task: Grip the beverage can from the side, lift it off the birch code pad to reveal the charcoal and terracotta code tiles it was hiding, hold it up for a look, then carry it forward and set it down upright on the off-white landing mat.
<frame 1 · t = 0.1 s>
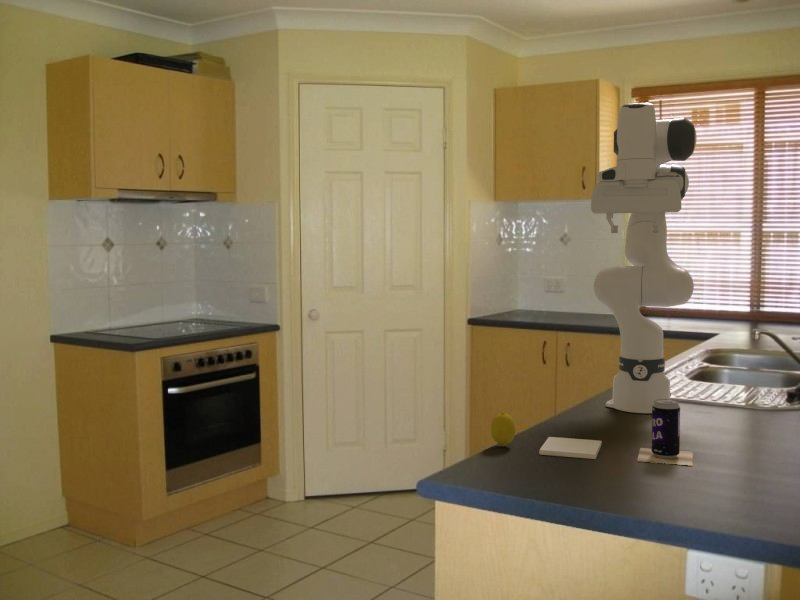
hand: (635, 233, 189), 48 cm above the worktop, tool pointing down, fingers open, 8 cm apart
code pad: (665, 457, 174), on the worktop
lemon: (503, 447, 184), on the worktop
landing mat: (571, 449, 181), on the worktop
beverage can: (665, 457, 174), resting on code pad
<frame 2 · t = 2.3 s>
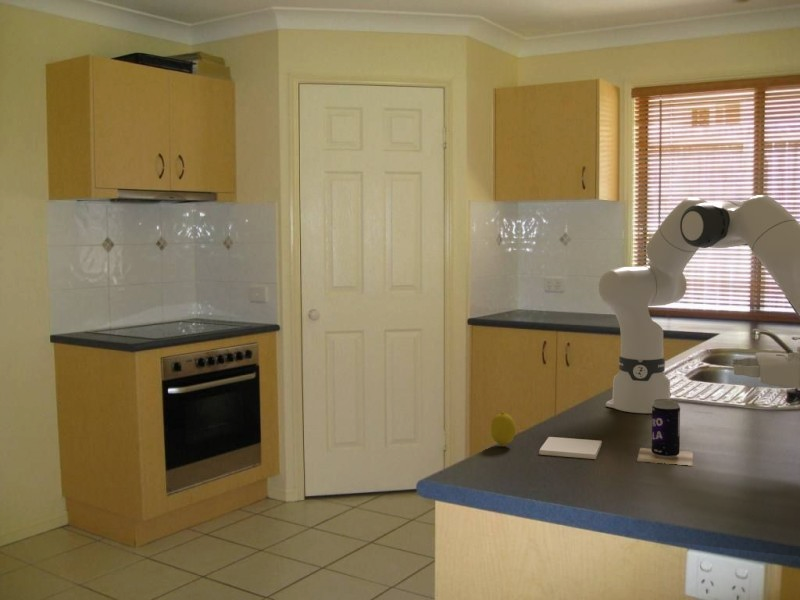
hand: (732, 366, 168), 20 cm above the worktop, tool horizontal, fingers open, 8 cm apart
nothing on the worktop moved.
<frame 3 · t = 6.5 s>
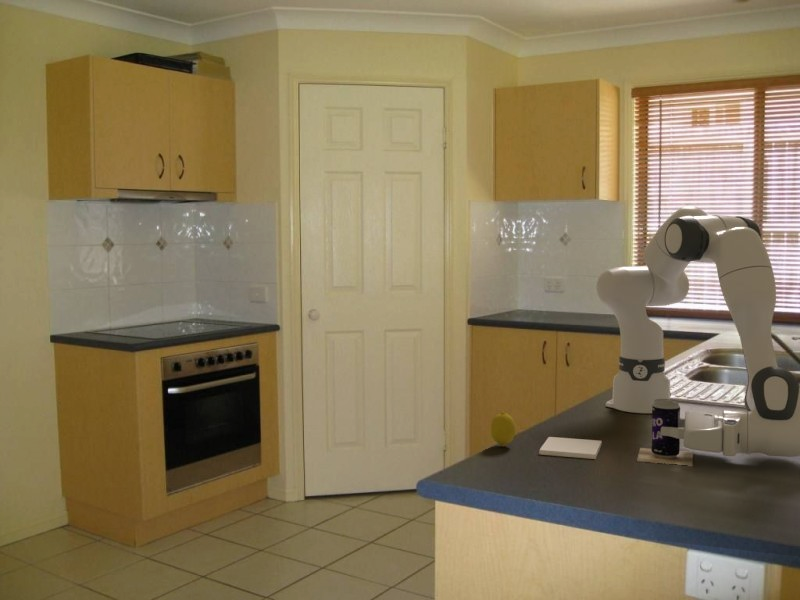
hand: (661, 426, 174), 7 cm above the worktop, tool horizontal, fingers closed on beverage can, 6 cm apart
beverage can: (665, 457, 174), resting on code pad, touching gripper
everything else where it was.
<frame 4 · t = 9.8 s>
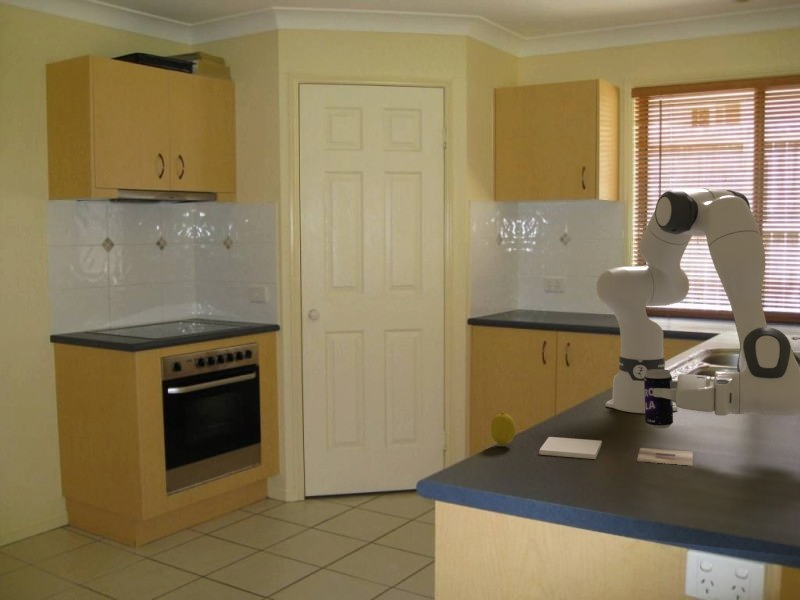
hand: (654, 388, 174), 15 cm above the worktop, tool horizontal, fingers closed on beverage can, 6 cm apart
beverage can: (659, 427, 174), point 6 cm above the worktop, touching gripper
everything else where it was.
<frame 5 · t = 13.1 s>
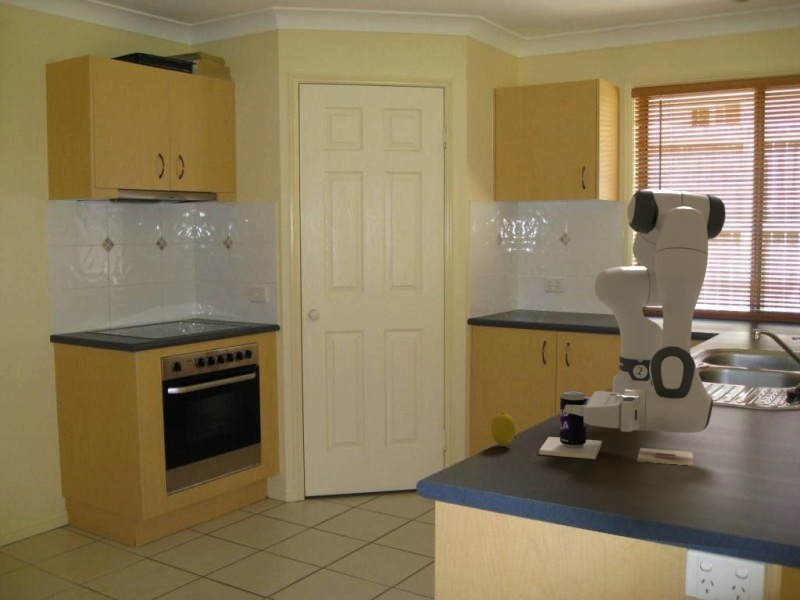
hand: (567, 405, 180), 10 cm above the worktop, tool horizontal, fingers closed on beverage can, 6 cm apart
beverage can: (573, 446, 181), point 1 cm above the worktop, touching gripper, landing mat
everything else where it was.
when the fingers open (9 cm above the worktop, at t = 13.7 s): beverage can stays where it is, resting on landing mat.
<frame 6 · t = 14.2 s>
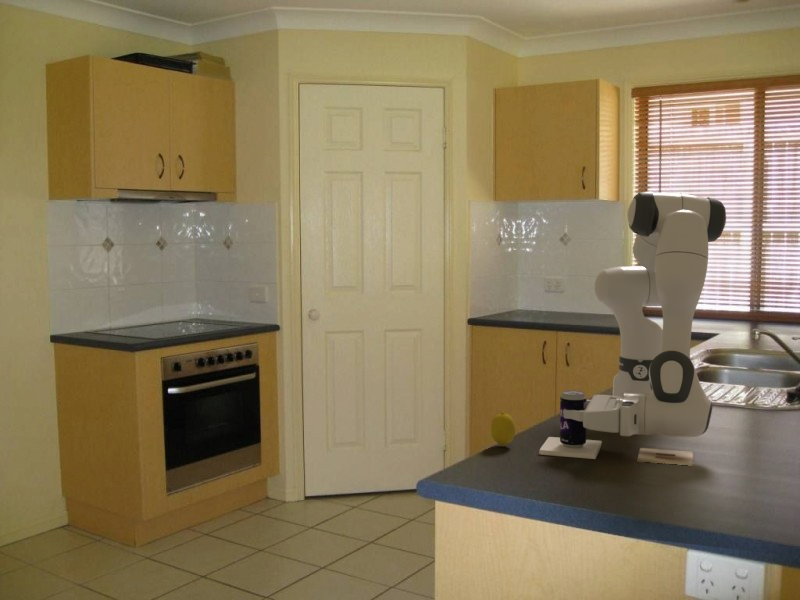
hand: (567, 409, 181), 9 cm above the worktop, tool horizontal, fingers open, 8 cm apart
beverage can: (573, 446, 181), point 1 cm above the worktop, touching landing mat
everything else where it was.
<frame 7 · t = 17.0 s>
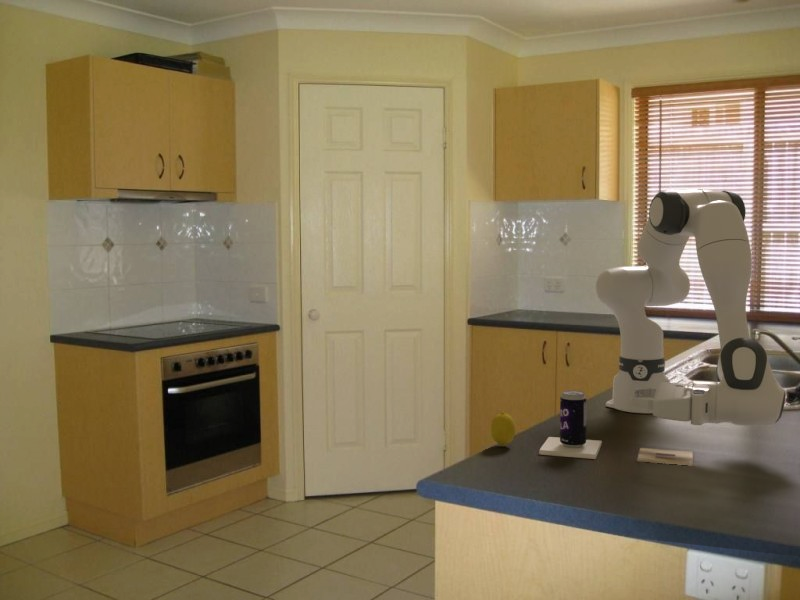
hand: (632, 396, 177), 12 cm above the worktop, tool horizontal, fingers open, 8 cm apart
nothing on the worktop moved.
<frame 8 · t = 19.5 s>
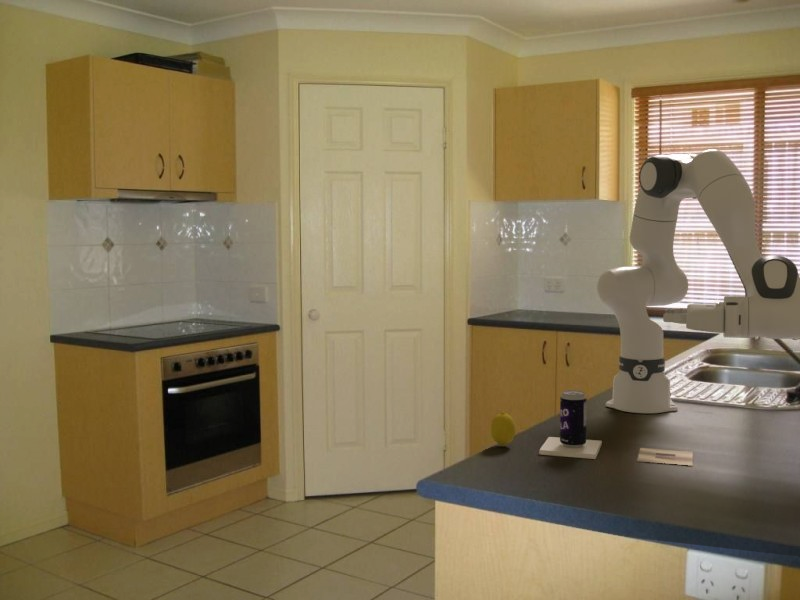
hand: (664, 315, 178), 30 cm above the worktop, tool horizontal, fingers open, 8 cm apart
nothing on the worktop moved.
at the end: beverage can inside the target area on the landing mat (0.4 cm from its centre), point 0.8 cm above the landing mat's base; beverage can tilted 0°; the gripper is holding nothing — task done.
